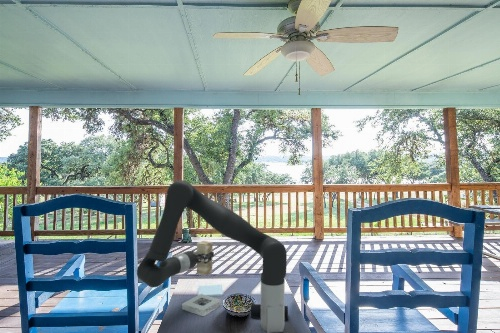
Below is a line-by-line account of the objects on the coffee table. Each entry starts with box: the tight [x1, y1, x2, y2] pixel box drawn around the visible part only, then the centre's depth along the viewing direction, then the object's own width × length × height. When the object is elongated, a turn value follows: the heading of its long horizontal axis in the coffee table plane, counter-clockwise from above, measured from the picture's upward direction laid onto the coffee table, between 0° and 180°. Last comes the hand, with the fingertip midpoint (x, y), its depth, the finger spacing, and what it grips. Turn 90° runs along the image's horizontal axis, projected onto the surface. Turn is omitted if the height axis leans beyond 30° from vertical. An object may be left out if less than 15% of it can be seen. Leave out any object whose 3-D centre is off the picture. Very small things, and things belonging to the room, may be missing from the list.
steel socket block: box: [181, 294, 222, 317], centre depth 126 cm, size 12×12×2 cm
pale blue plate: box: [197, 284, 224, 297], centre depth 144 cm, size 12×12×1 cm
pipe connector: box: [250, 303, 289, 321], centre depth 121 cm, size 12×5×15 cm
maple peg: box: [196, 240, 214, 277], centre depth 132 cm, size 5×5×14 cm
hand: (208, 253), depth 134 cm, fingers closed on maple peg, 5 cm apart
